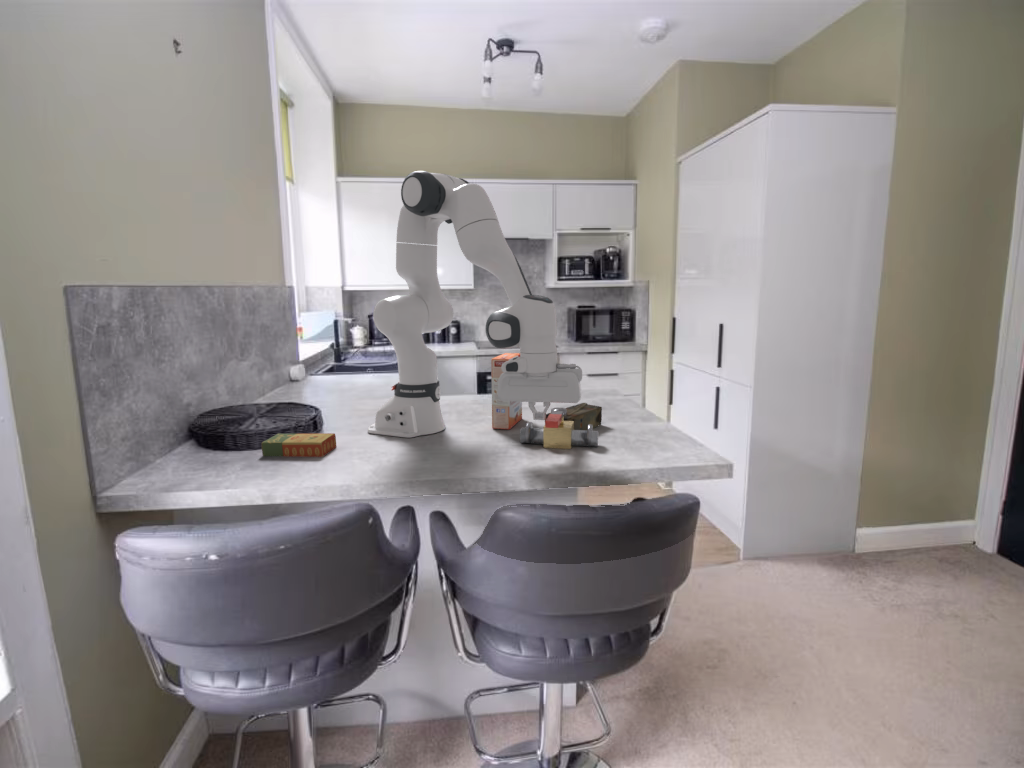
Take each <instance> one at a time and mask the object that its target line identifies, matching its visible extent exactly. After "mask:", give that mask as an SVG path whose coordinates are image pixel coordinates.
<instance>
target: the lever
mask: <svg viewBox="0 0 1024 768" xmlns="http://www.w3.org/2000/svg"><path fill="white" fill-rule="evenodd" d="M566 408H567V407H553V408H551V409H550V410H551V411H550V413H551V414H549V416H548V418H547V419H546V421H545V420H544V425H545V428H558V427H559V425H560V423H561V421H562V418H563V416H566V415H567V409H566Z"/></svg>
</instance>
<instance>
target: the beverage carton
mask: <svg viewBox="0 0 1024 768" xmlns="http://www.w3.org/2000/svg"><path fill="white" fill-rule="evenodd" d="M565 408H566V409H567V415H566V416H564V421H574V430H587V428H588V424H591V425H593V429H595V428H597V427H599V426H598V425H600V426H601V425H602V418H603V417H602V416H603V415H602V414H603V413H602V412H603V407H602V406H599V405H595V404H588V402H581V403H577V404H574V405H572V406H571V405H570V406H568V407H565ZM549 414H551V412H548V413H546V419H547V418H548V416H549ZM545 421H546V420H544V422H545ZM596 426H597V427H596ZM594 427H595V428H594Z"/></svg>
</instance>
